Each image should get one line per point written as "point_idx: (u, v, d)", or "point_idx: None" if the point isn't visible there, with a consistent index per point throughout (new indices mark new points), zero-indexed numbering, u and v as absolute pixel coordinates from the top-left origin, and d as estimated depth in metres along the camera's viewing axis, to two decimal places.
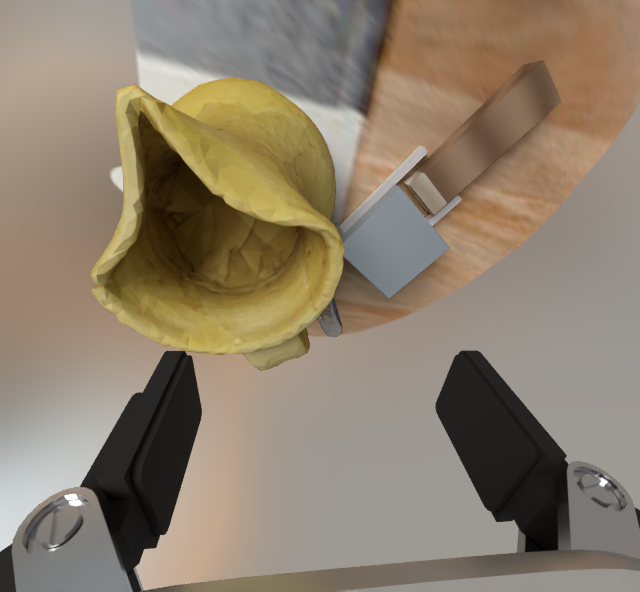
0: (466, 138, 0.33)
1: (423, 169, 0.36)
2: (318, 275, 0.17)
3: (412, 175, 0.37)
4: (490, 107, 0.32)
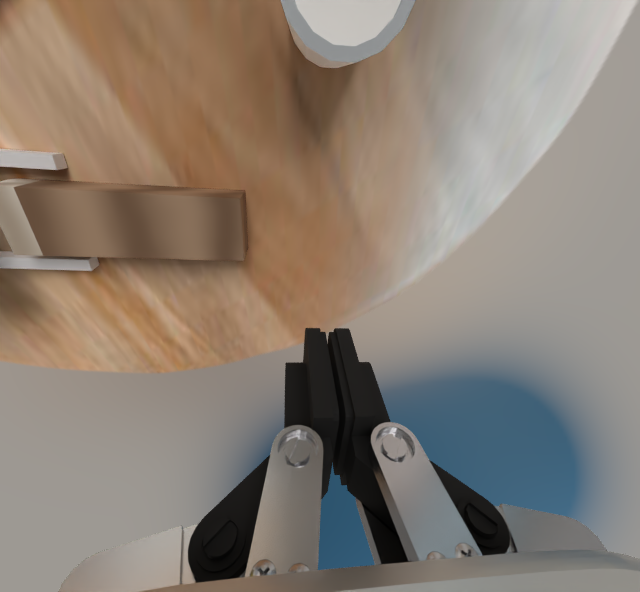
0: (102, 197, 0.21)
1: (34, 184, 0.21)
2: None
3: (27, 180, 0.22)
4: (161, 192, 0.22)
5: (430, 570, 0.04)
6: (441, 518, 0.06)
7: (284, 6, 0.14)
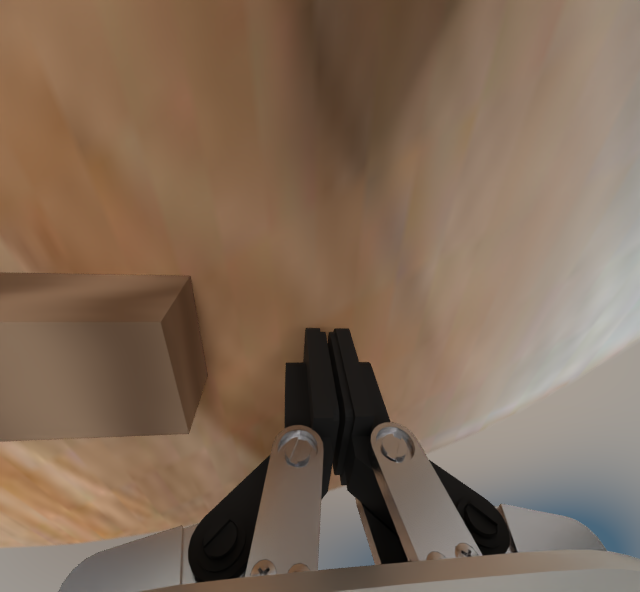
0: None
1: None
2: None
3: None
4: None
5: (430, 570, 0.04)
6: (441, 518, 0.06)
7: None
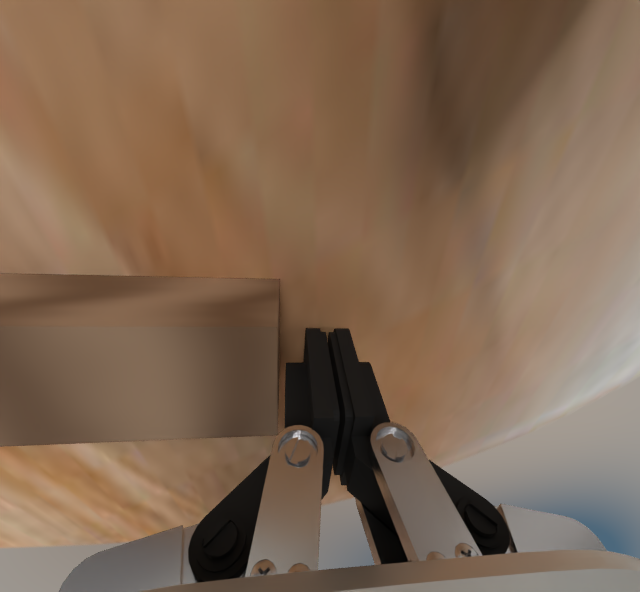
0: None
1: None
2: None
3: None
4: (76, 312, 0.08)
5: (430, 570, 0.04)
6: (441, 518, 0.06)
7: None
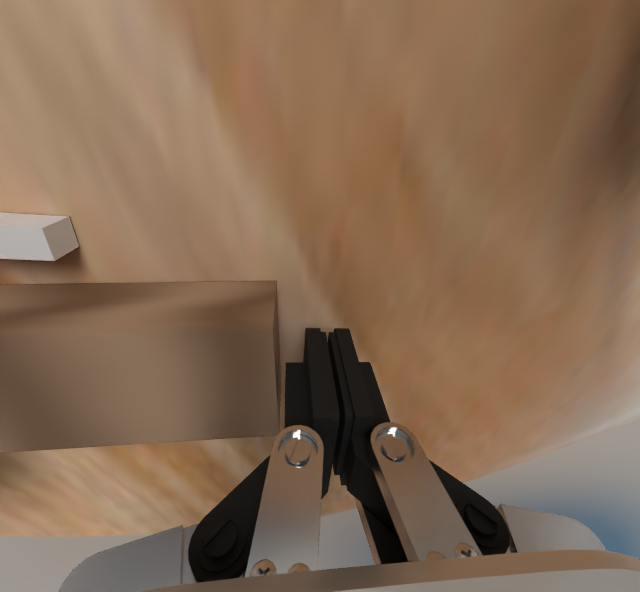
0: None
1: None
2: None
3: None
4: (77, 320, 0.09)
5: (430, 570, 0.04)
6: (441, 518, 0.06)
7: None
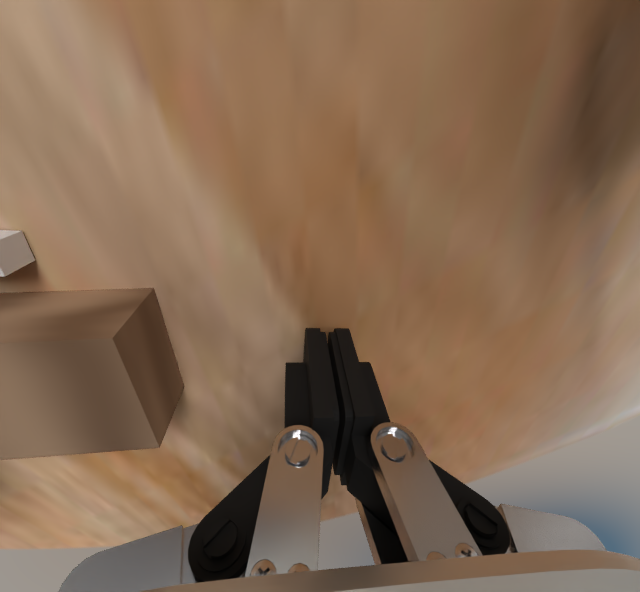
0: None
1: None
2: None
3: None
4: None
5: (430, 570, 0.04)
6: (441, 518, 0.06)
7: None
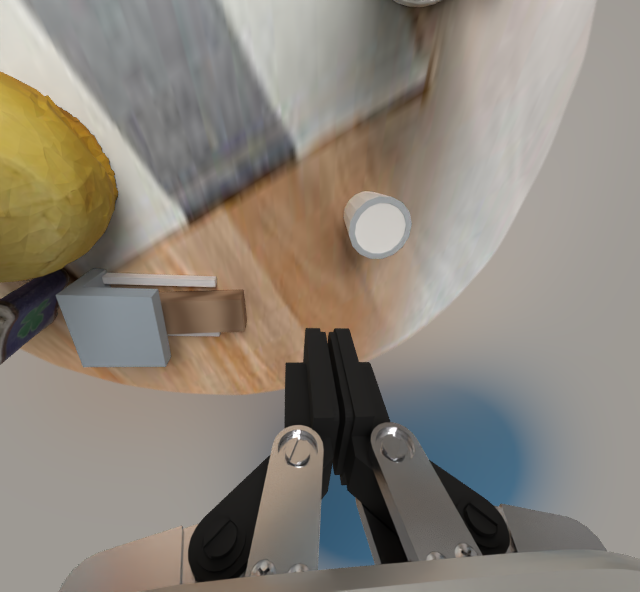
0: (165, 304, 0.37)
1: None
2: None
3: None
4: (196, 298, 0.38)
5: (430, 570, 0.04)
6: (441, 518, 0.06)
7: (352, 242, 0.32)
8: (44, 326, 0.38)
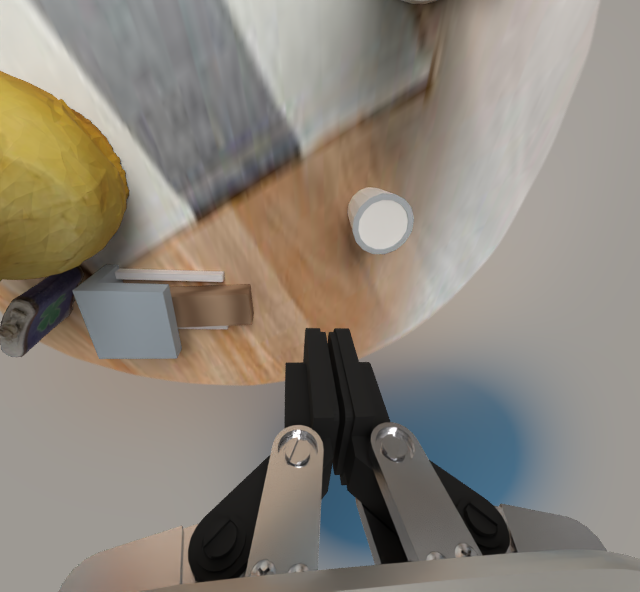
0: (175, 299, 0.39)
1: None
2: None
3: None
4: (205, 293, 0.40)
5: (430, 570, 0.04)
6: (441, 518, 0.06)
7: (355, 238, 0.33)
8: (61, 320, 0.40)
